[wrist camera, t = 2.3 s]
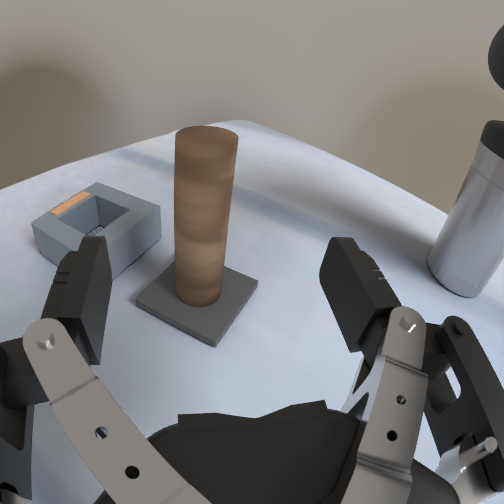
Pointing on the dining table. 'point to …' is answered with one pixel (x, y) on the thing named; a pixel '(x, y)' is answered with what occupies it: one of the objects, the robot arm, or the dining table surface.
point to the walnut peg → (202, 210)
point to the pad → (198, 318)
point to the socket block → (100, 213)
